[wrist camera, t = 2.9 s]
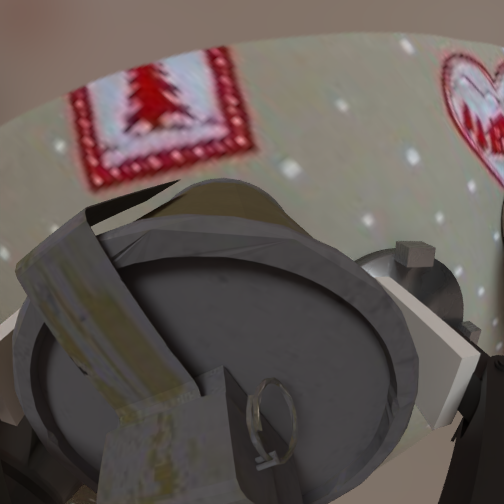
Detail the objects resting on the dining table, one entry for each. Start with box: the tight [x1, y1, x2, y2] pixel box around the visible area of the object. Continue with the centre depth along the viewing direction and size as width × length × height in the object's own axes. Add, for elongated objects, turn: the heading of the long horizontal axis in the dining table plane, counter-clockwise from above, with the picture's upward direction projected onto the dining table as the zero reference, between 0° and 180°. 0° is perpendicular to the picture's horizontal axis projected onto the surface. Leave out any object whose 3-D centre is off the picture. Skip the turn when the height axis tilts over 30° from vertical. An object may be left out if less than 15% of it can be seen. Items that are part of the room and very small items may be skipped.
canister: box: [12, 178, 419, 504], centre depth 13 cm, size 11×10×20 cm
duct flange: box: [354, 241, 481, 345], centre depth 24 cm, size 18×18×4 cm
